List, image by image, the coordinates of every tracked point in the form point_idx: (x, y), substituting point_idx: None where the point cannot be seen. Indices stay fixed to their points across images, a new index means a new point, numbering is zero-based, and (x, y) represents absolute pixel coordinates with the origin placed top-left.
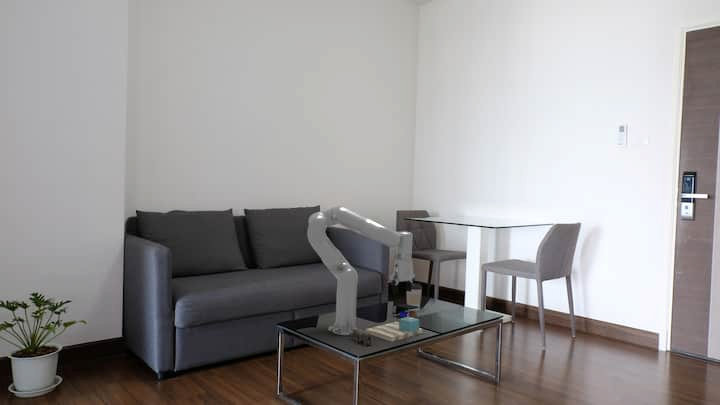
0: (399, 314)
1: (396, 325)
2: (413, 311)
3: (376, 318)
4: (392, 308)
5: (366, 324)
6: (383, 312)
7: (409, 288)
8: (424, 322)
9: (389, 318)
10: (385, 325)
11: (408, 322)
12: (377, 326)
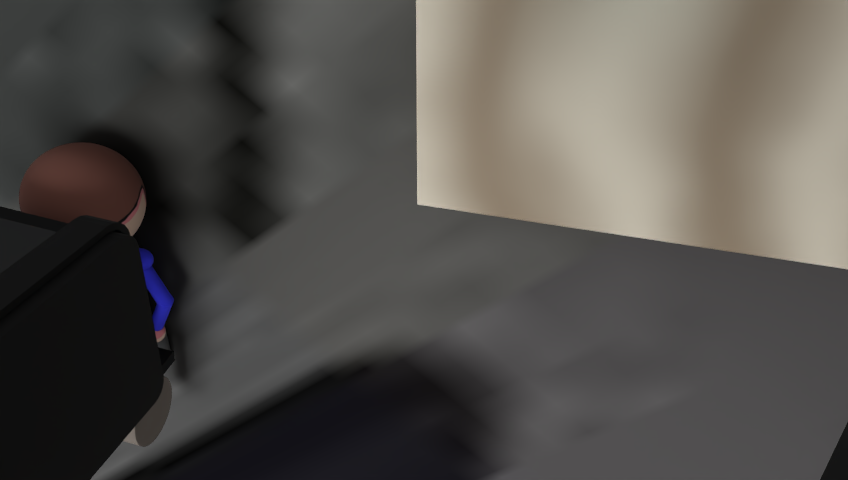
0: (161, 324)
1: (571, 99)
2: (40, 209)
3: (382, 443)
4: (151, 434)
5: (650, 426)
6: (187, 473)
7: (69, 326)
8: (48, 14)
9: (277, 360)
10: (688, 207)
11: None
12: (820, 257)
